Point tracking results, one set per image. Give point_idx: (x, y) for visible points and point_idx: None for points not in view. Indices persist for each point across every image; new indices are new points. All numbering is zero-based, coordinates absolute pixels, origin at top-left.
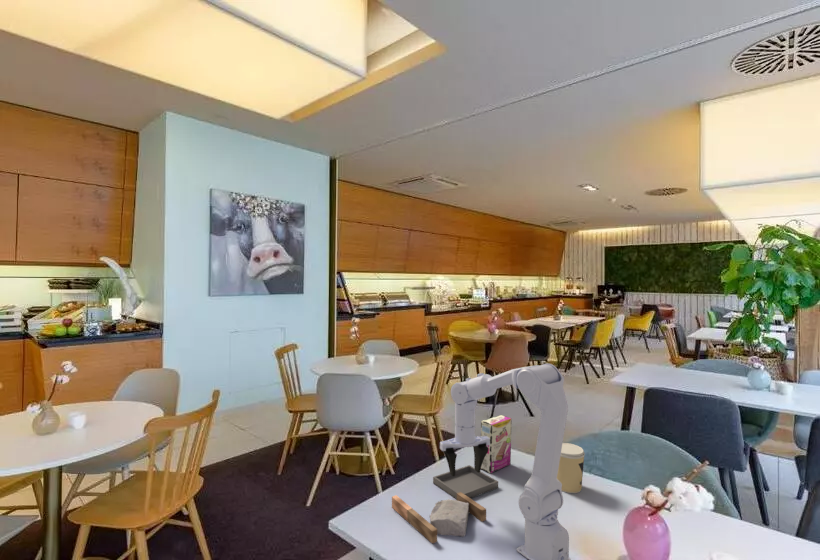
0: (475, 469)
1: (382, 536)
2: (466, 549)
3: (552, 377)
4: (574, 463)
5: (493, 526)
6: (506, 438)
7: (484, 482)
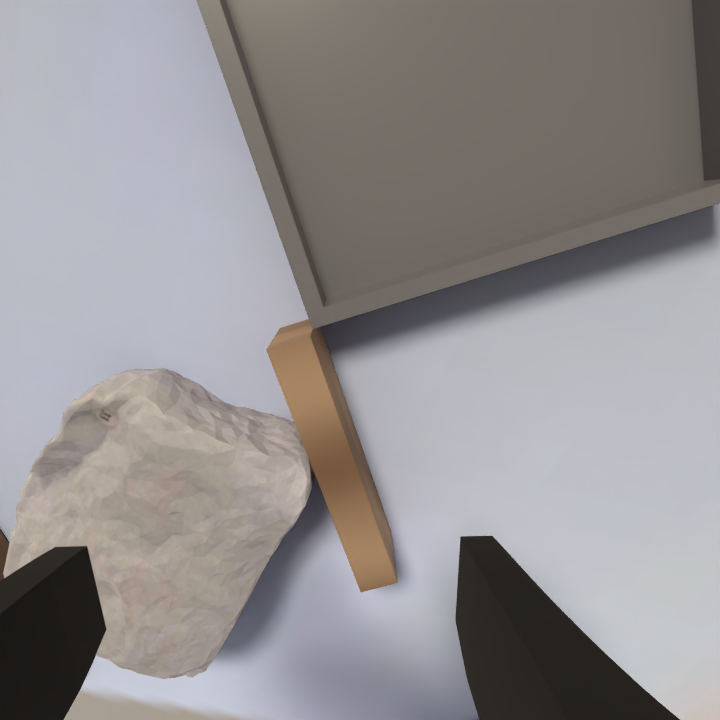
0: (462, 564)
1: None
2: (192, 688)
3: None
4: None
5: (401, 584)
6: None
7: (659, 82)
